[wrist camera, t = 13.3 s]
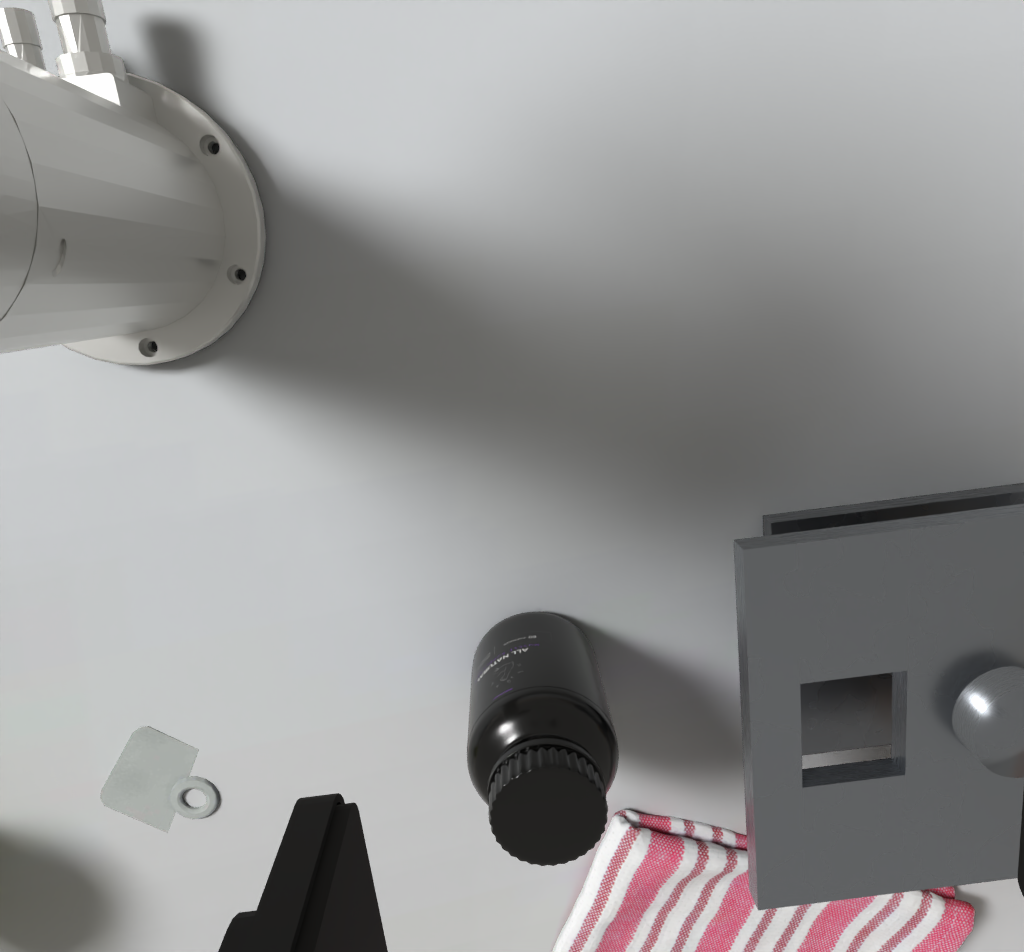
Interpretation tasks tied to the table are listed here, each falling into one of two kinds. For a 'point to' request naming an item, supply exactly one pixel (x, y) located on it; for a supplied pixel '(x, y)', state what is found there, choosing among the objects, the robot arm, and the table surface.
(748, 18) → the table surface
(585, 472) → the table surface
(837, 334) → the table surface
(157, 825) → the mounting bracket
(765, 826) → the gray tiered stand
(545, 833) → the supplement bottle
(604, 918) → the dish towel
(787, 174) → the table surface
